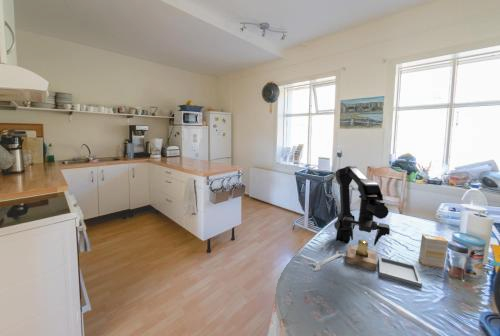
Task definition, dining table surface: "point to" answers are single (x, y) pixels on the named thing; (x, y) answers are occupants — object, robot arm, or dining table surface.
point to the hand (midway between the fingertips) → (363, 242)
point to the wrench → (327, 260)
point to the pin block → (362, 258)
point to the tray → (399, 272)
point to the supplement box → (433, 251)
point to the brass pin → (362, 248)
